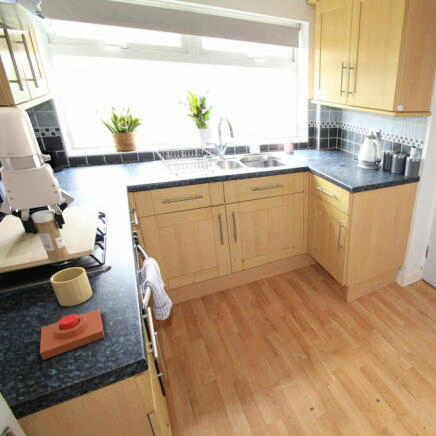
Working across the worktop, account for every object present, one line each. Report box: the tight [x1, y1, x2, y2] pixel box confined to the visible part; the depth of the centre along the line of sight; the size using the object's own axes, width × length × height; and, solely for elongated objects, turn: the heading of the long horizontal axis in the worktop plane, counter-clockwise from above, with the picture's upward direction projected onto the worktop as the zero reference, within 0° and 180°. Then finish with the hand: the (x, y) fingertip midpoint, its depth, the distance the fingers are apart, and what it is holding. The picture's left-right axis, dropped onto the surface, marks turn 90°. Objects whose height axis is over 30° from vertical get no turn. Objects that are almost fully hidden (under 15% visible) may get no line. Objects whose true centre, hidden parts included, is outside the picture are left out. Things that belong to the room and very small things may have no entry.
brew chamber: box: [49, 266, 93, 307], centre depth 92 cm, size 8×8×8 cm
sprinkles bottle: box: [30, 209, 70, 262], centre depth 85 cm, size 5×5×13 cm
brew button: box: [58, 313, 79, 330], centre depth 79 cm, size 4×4×2 cm
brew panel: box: [39, 308, 105, 361], centre depth 80 cm, size 12×10×4 cm
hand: (48, 228), depth 84 cm, fingers closed on sprinkles bottle, 4 cm apart
